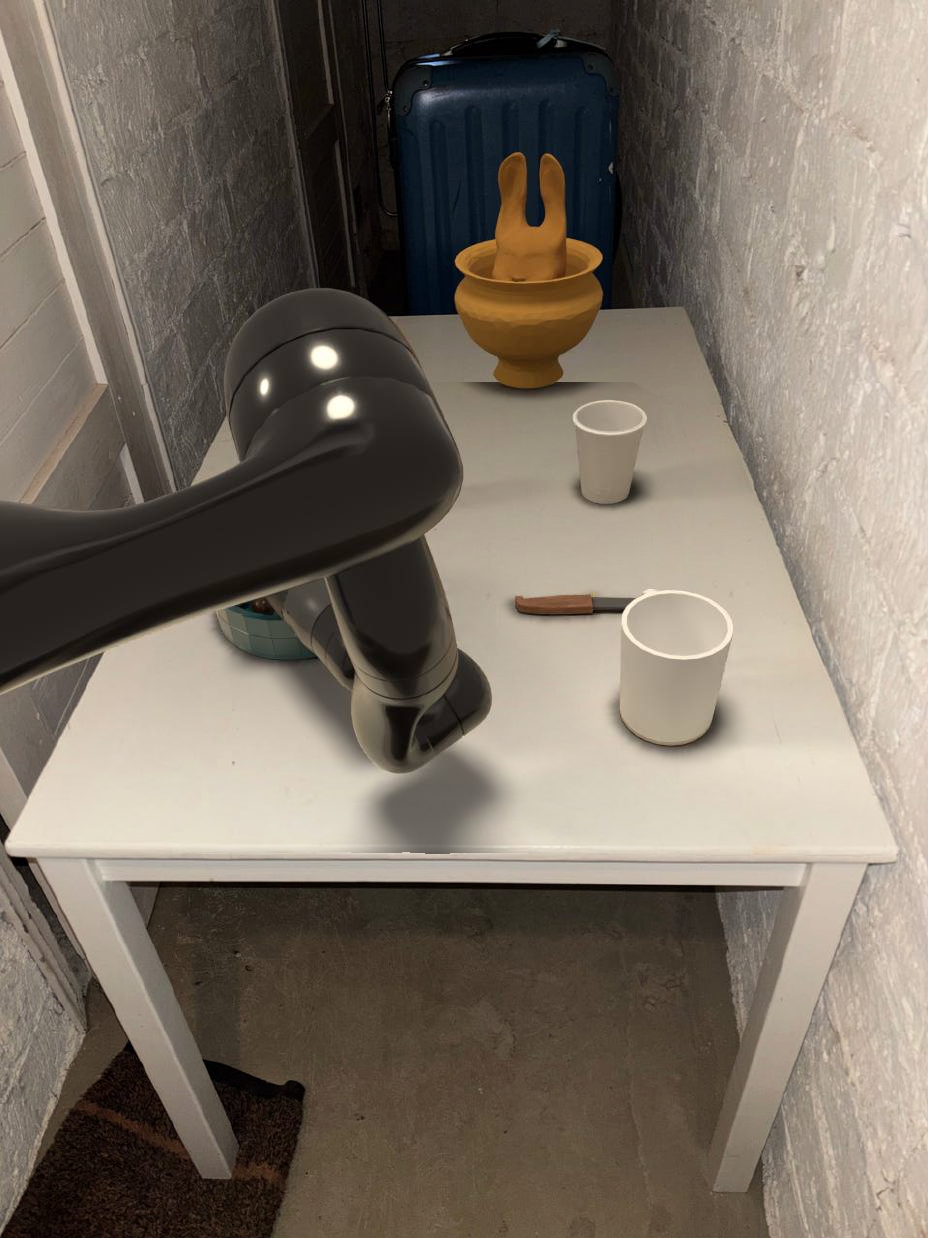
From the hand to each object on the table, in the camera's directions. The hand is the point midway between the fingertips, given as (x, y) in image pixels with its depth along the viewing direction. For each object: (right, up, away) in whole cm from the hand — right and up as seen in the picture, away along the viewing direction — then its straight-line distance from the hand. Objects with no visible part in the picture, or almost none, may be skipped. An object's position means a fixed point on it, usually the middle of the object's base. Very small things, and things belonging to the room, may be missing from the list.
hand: (248, 519), depth 91 cm
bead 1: (-2, -8, +3) cm, 8 cm away
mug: (+39, -18, -10) cm, 44 cm away
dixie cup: (+39, +5, +19) cm, 43 cm away
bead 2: (+1, -9, +1) cm, 9 cm away
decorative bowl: (+31, +27, +46) cm, 62 cm away
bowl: (+5, -8, +4) cm, 11 cm away
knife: (+35, -9, +2) cm, 36 cm away
